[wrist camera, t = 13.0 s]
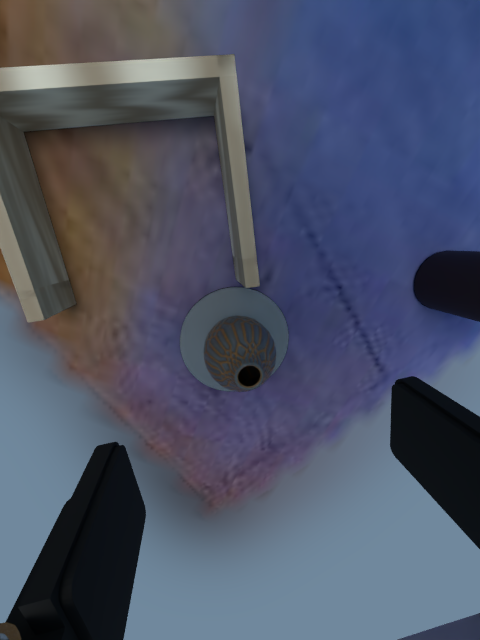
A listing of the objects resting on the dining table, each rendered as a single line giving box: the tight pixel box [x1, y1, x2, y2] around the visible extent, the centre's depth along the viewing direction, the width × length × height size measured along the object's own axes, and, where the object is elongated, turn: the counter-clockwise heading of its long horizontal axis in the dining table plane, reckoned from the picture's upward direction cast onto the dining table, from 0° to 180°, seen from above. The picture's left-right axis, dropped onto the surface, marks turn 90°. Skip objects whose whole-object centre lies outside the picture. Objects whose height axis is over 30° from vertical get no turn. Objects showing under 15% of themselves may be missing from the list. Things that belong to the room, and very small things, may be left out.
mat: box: [180, 287, 289, 391], centre depth 30 cm, size 12×12×1 cm
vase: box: [204, 316, 276, 392], centre depth 26 cm, size 7×7×9 cm
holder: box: [0, 54, 260, 322], centre depth 23 cm, size 18×16×6 cm
